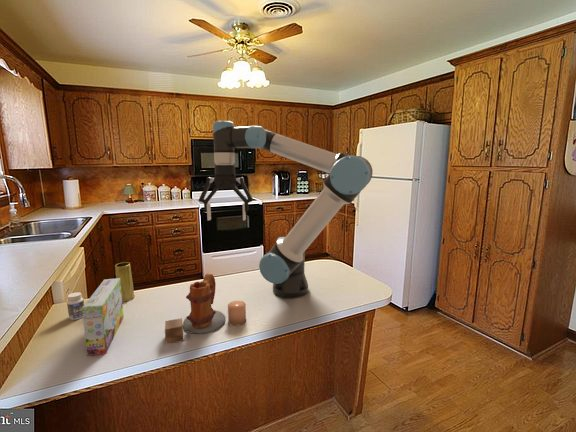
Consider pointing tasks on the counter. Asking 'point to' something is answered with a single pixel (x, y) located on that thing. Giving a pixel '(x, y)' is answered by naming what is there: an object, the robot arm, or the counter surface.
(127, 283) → the vase
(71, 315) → the pill bottle
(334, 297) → the counter surface
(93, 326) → the snack box
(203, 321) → the mug
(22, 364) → the counter surface
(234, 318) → the peach rounded cylinder
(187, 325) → the gray ellipsoid
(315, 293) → the counter surface
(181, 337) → the walnut block
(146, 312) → the counter surface
